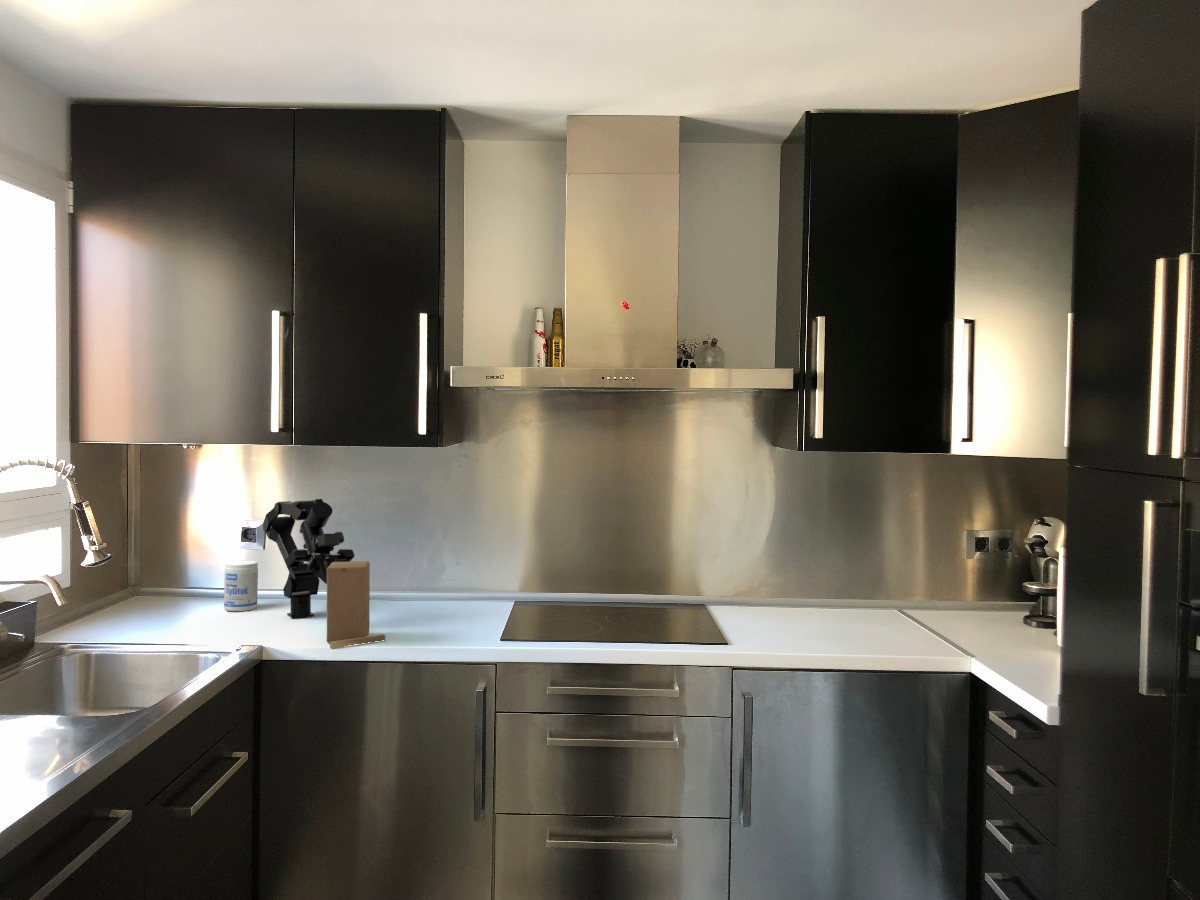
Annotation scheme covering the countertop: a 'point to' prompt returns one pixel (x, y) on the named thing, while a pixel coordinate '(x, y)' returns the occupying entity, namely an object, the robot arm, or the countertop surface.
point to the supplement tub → (241, 585)
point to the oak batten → (356, 641)
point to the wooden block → (348, 600)
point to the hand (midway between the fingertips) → (328, 583)
